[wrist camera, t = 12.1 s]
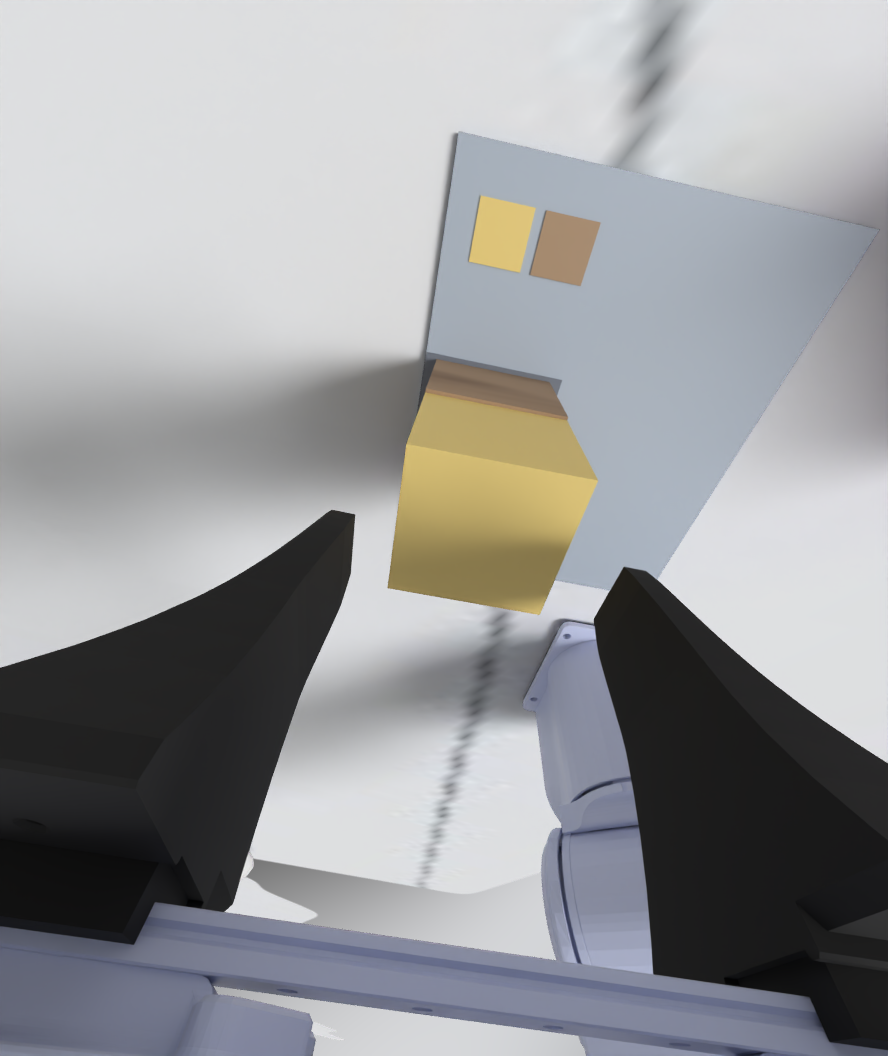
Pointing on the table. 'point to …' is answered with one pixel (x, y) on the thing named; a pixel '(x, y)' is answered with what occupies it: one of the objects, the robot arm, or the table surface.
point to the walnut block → (495, 389)
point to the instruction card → (632, 324)
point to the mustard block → (487, 504)
